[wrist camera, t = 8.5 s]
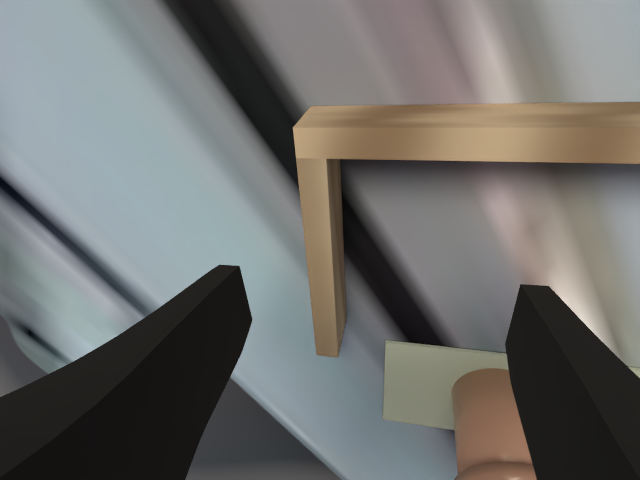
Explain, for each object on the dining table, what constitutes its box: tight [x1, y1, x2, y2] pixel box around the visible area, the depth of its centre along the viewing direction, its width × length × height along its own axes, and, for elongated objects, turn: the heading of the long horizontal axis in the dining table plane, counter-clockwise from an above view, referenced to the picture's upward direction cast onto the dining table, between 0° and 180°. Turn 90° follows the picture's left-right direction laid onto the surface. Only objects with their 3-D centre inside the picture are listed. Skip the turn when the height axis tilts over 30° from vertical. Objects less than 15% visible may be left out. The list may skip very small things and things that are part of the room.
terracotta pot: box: [452, 368, 537, 480], centre depth 22 cm, size 6×6×6 cm
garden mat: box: [383, 340, 640, 430], centre depth 25 cm, size 14×8×1 cm, turn 94°
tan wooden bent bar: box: [293, 102, 640, 358], centre depth 17 cm, size 21×13×3 cm, turn 94°
